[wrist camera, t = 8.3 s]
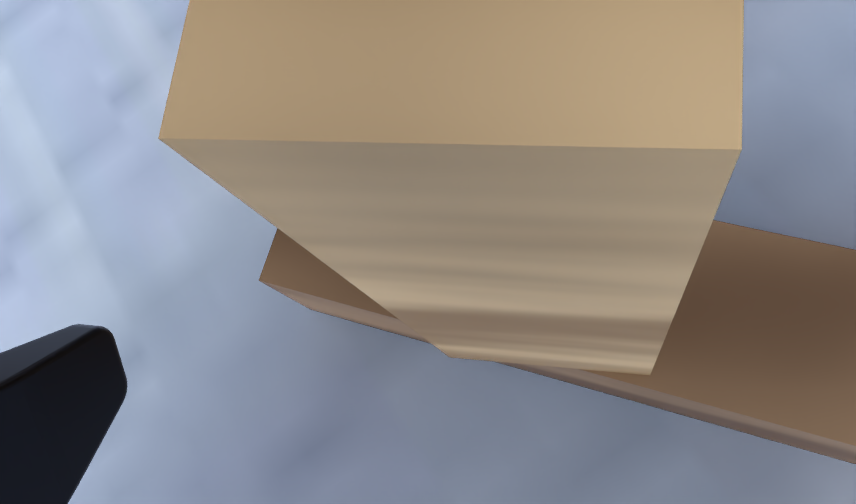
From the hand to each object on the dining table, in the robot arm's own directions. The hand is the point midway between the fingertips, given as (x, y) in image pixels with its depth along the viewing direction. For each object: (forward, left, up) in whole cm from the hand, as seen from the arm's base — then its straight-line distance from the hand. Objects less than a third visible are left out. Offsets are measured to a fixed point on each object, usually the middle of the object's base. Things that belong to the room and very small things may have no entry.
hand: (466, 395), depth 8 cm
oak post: (+4, +1, -9) cm, 9 cm away
